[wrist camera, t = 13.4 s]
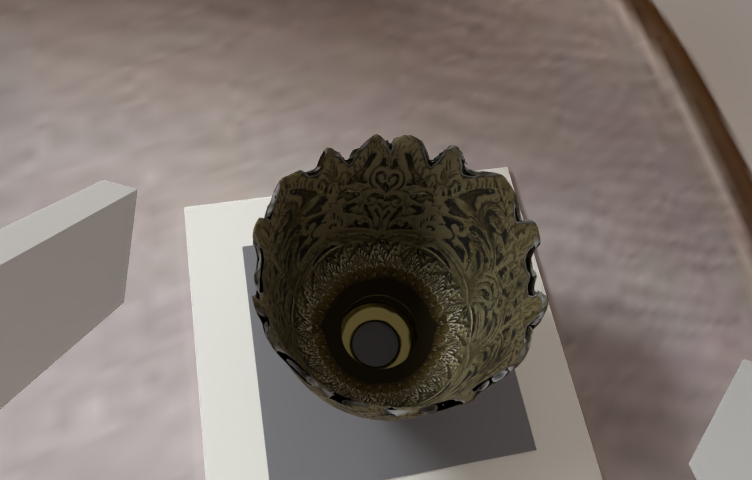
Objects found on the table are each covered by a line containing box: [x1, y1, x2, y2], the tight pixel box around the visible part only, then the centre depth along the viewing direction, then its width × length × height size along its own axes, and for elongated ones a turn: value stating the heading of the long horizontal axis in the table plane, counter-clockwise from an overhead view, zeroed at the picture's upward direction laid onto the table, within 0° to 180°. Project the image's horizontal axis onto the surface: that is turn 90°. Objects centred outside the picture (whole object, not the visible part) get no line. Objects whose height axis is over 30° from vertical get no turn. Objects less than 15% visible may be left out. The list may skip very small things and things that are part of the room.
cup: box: [252, 134, 548, 421], centre depth 20 cm, size 8×7×8 cm
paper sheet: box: [184, 167, 603, 480], centre depth 24 cm, size 13×13×1 cm
